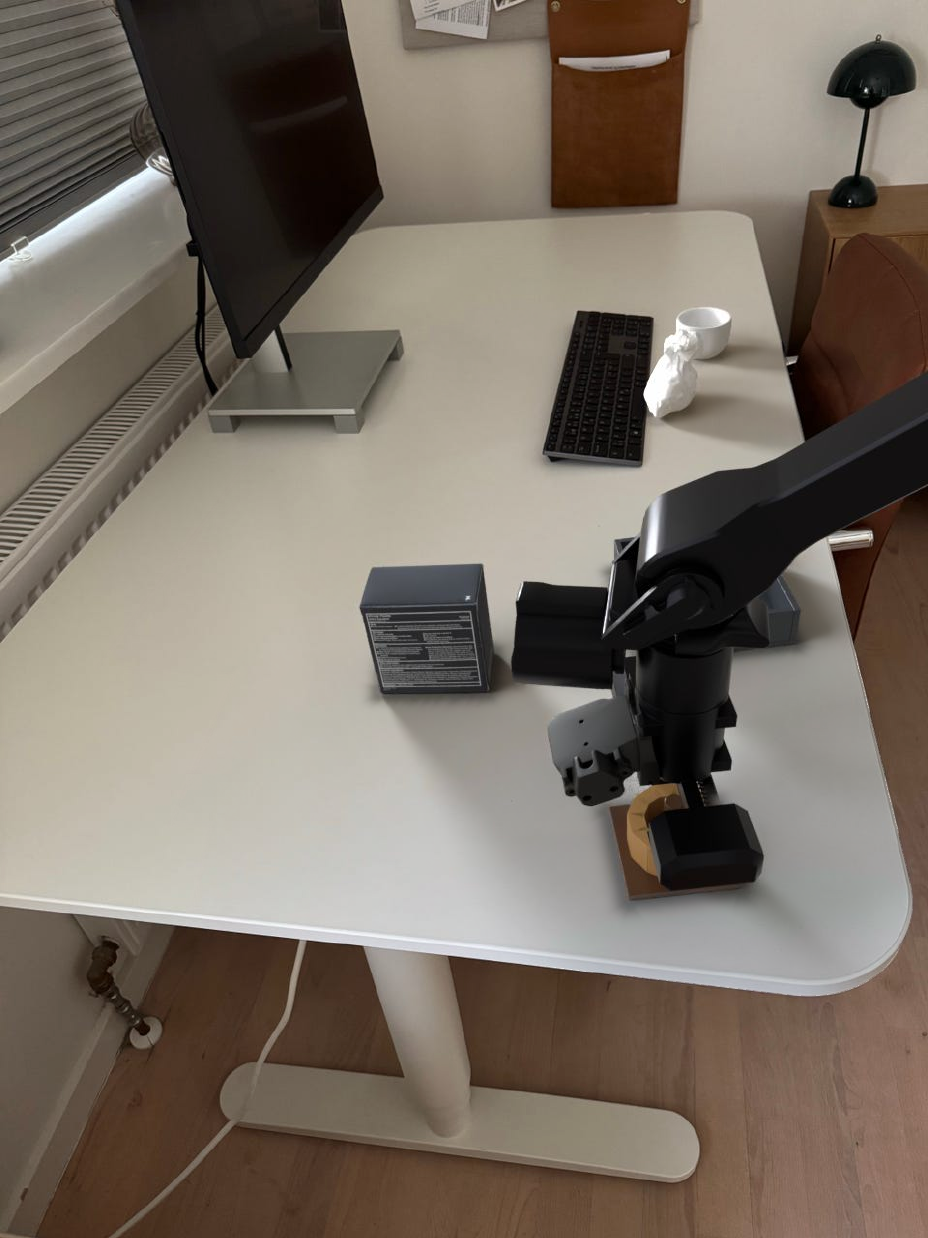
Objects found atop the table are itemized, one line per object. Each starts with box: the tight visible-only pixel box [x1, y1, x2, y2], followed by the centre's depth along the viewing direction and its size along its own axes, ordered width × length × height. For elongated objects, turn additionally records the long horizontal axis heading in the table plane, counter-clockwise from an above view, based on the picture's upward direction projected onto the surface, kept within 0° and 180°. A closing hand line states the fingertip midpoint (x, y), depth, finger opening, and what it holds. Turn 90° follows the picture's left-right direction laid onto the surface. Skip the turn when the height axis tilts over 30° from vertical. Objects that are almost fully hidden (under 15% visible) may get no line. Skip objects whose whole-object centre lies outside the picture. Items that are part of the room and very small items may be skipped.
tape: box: [627, 783, 705, 876], centre depth 65 cm, size 6×6×3 cm
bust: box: [643, 329, 704, 419], centre depth 117 cm, size 12×8×11 cm
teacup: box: [675, 306, 732, 360], centre depth 130 cm, size 10×8×5 cm
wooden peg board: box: [608, 794, 742, 901], centre depth 65 cm, size 8×8×6 cm
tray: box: [613, 536, 802, 652], centre depth 86 cm, size 14×14×4 cm
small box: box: [358, 563, 495, 694], centre depth 81 cm, size 11×6×10 cm, turn 84°
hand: (672, 834), depth 66 cm, fingers open, 8 cm apart
